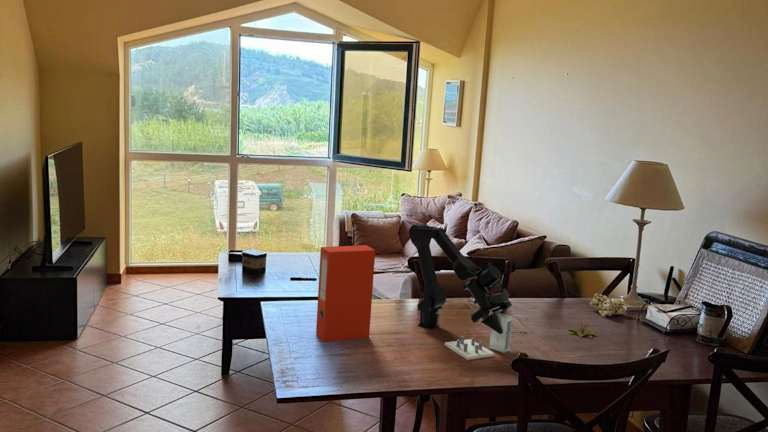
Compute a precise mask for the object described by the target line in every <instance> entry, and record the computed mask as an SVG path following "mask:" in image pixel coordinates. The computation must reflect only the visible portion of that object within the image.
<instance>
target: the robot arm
mask: <svg viewBox="0 0 768 432" xmlns="http://www.w3.org/2000/svg"><path fill="white" fill-rule="evenodd" d="M408 236H409V238H410V242H411V243H412V245H413V246H414V247H415V248H416V250H417V255H418V259H419V264H420V268H421V273H422V279H423V283H424V288H423V293H422V299H423V300H421V301H420V302H419V303H417V309H418V311H420V316H419V323H418V324H417V326H419V327H422V328H423V327H424V328H428V329H433V330H434V329H435V328H436V327H438V326H439V325H440V316H441V315H440V313H439V312H440V311H439V310H442V309H443V306H444V305H445V303H446V301H447V296H448V295H447V294H446V289H445V286H443V285H442V286H441V285H440V284H439V282H438V278H437V274H436V273H437V272H436V269H435V266H434V261H433V256H432V251H431V250H432V249H431V247H430V245H431V242H432V239H433V240H434V241H435V242H436V244H437V246H439V248H440V249H441V250H442V252H443V253H444V255H445V256H446V257H447V258H448V260H449V261H450V262H451V265H452V270H453V272H454V274H455V276H456V278H457V279H458V280H460V281H465V282H463V284H462V285H463V286H462V290H463V291H467V290H468V291H469V293H470V295H471V296H472V298H473V300H474V301H473V304H474V305H478V307H479V309H478V310H476V311H475V312H474V313H472V314H471V315H470V321H472V323H473V324H476V323H478V322H479V321H480V319H482V320H481V321H480V324H484V325H485V326H487V327H488V328H489V329H491V328H492V329H493V330H495V331H496V332H498V333H499V334H502V333H503V332H502V330H501V328H500V326H499V324H498V322H497V320H496V313H497V312H499V313H502V314H506V312H507V311H508V309H510V307H512V306H513V304H512V302H511V301H510V298H509V297H510V292H508V291H507V289H506V288H504V289H499V292H498V293H495V294H494V292H493V291H489V290H488V288H491V287H492V286H493V285H495V284H496V283H497V282H498V281H500V280H501V279H503V275H502V274H503V273H502V272H501V270H500V269H498V268H497V267H496V266H494V265H493V264H492V263H487V264H485V265H484V267H483V268H481V267H479V266H477V265H476V264H475V262H473V261H472V260H471V259H470V258H468V257H466V256H465V255H464V254H462V252H461V251H460V249H458V247H457V246H456V244H455V243H454V242H453V241H452V240H451V238H450V237H449V236H448V234H447V233H446V231H445V228H443V227H441V226H440V227H437V226H430V225H428V224H426V223H418V224H413V225H411V226H410V227H409V229H408ZM467 280H469V281H467Z"/></svg>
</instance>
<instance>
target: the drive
mask: <svg viewBox="0 0 768 432" xmlns="http://www.w3.org/2000/svg"><path fill="white" fill-rule="evenodd" d="M513 319H514V316H512V315H509V314H506V313H505V314H502V313H499V312H497V313H496V320H497V322H498V324H499V326H500V328H501V330H502V332H503V333H502V334H499V333H498V332H496V331H495V330H493V329H492V328H490V338H489V347H488V348H489V349H491V350H494V351H497V352H499V353H502V354H505V353H508V352H509V351H510V348H511V347H510V346H511V337H512V328H513Z"/></svg>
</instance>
